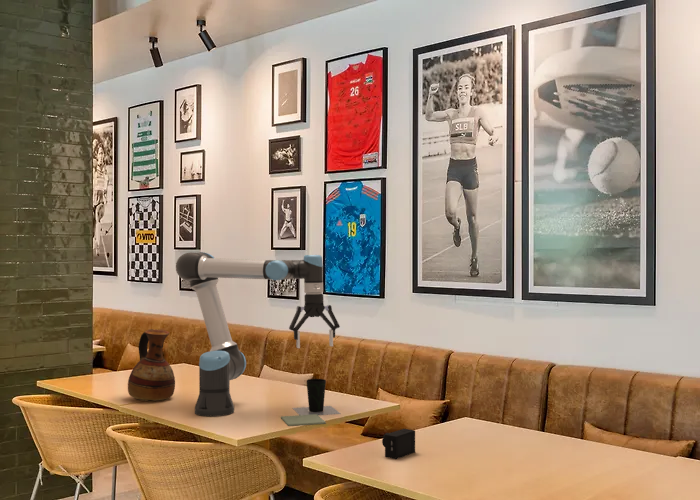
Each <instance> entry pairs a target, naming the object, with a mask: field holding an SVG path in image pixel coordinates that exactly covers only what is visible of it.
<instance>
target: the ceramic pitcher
mask: <svg viewBox="0 0 700 500" xmlns="http://www.w3.org/2000/svg"><path fill="white" fill-rule="evenodd" d="M169 335H170V331H167V330H164V329H153V328H150V329H147V330H146V329H145V331H144V332H143V333H142V334H141V336H140V339H139V342H138V354H139V361H138V362H137V364H135V366H134V367H133V368H132V370H131V372H130V374H129V377H128V380H127V392H128V394H129V395H128V396H130V397H132V398H133V399H135V400H138V399H141V400H140V401H143V400H159V401H164V400H167V399H169V398H171V397H173V395H174V392H175V389H176V388H175V387H176V379H175V378H176V377H175V374H174V371H173V368H172V366H171V365H170V363H169V362H168V360H166V359H165V357H164V356H163V355H164V354H163V348H164V343H165V341H166V338H168V336H169Z"/></svg>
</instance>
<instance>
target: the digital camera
mask: <svg viewBox="0 0 700 500" xmlns="http://www.w3.org/2000/svg"><path fill="white" fill-rule="evenodd" d="M381 443H382V446H383V447H384V457H385V458H388V459H393V460H397V459H400V458H403V457H404V458H405V456H408V455H412V454H414V453H416V430H415V429H414V430H413V429H408V428H402V429H399V430H395V431H393V432H386V433H384V434H383V435H382V441H381Z"/></svg>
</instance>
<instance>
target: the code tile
mask: <svg viewBox="0 0 700 500" xmlns="http://www.w3.org/2000/svg"><path fill="white" fill-rule="evenodd" d="M292 410H293V411H295V412H296V414H297V415H313V414H317V415H318V416H328V415H329V416H330V415H341V414H342V413H341V412H340V411H338V410H337V409H336V408H334V407H333V406H332V405H324V407H323V411H322V412H310V411H309V406H306V407H304V406H303V407H292Z"/></svg>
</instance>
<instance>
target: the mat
mask: <svg viewBox="0 0 700 500" xmlns="http://www.w3.org/2000/svg"><path fill="white" fill-rule="evenodd" d="M280 419H281V420H282V421H283V422H284V423H285V424H286V426H288V427H296V426H297V427H298V426H308V425H309V426H310V425H312V426H313V425H326V424H327V422H326V421H325V419H323V418H322V417H321V416H320V415H317V414H313V415H299V414H297V415H285V416H283V415H282V416H280Z"/></svg>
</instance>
